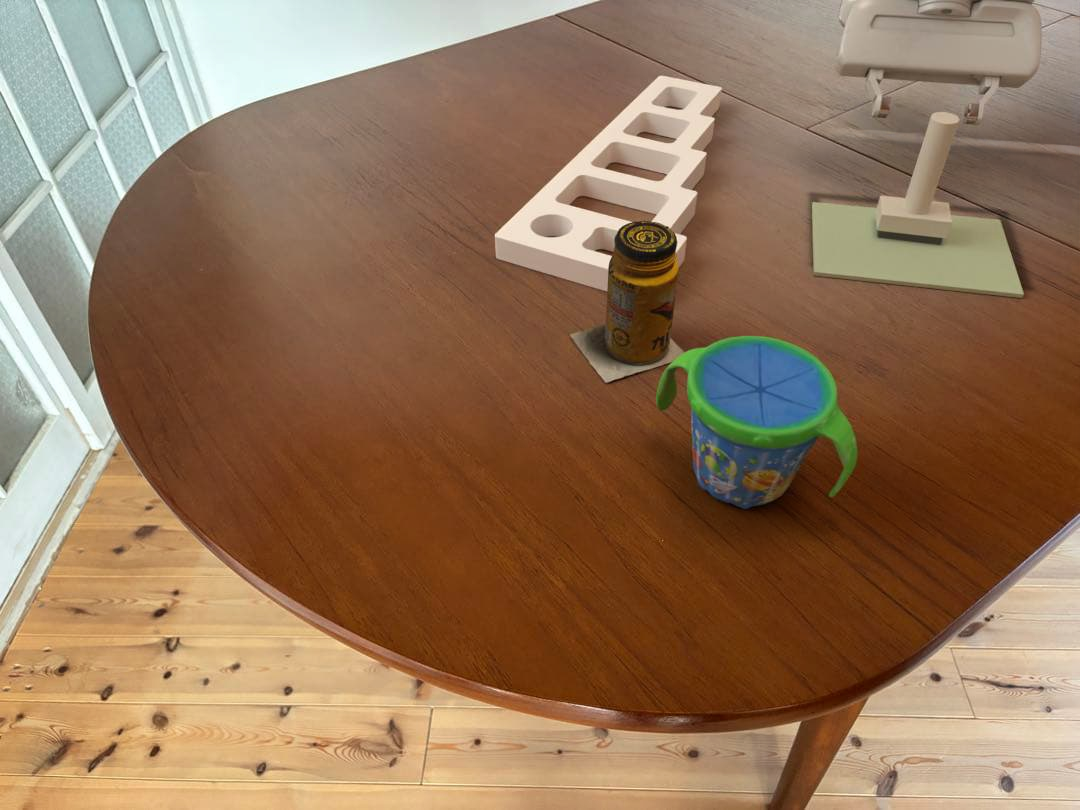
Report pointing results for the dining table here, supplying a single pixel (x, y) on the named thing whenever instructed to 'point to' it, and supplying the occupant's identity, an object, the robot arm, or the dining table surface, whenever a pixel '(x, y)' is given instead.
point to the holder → (618, 185)
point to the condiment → (636, 304)
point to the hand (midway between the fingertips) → (925, 119)
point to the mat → (913, 253)
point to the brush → (921, 191)
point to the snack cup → (757, 416)
